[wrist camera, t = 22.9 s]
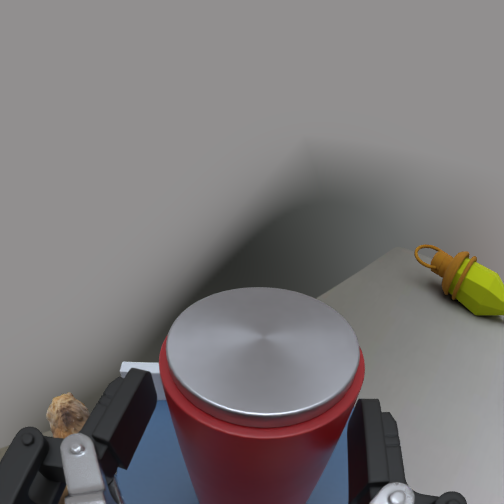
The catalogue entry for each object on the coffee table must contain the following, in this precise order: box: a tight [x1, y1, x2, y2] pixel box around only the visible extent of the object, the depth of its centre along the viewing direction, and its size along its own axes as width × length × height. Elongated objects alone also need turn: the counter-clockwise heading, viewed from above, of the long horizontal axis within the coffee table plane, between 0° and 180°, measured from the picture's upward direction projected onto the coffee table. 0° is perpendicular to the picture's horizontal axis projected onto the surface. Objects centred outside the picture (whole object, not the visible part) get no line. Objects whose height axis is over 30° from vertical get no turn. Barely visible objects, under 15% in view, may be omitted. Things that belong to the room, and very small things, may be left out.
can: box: [159, 287, 365, 504], centre depth 12 cm, size 6×6×12 cm
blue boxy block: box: [116, 362, 355, 504], centre depth 16 cm, size 16×16×13 cm
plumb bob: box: [415, 245, 504, 315], centre depth 48 cm, size 9×9×25 cm
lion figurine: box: [46, 392, 90, 504], centre depth 16 cm, size 15×5×9 cm, turn 2°
